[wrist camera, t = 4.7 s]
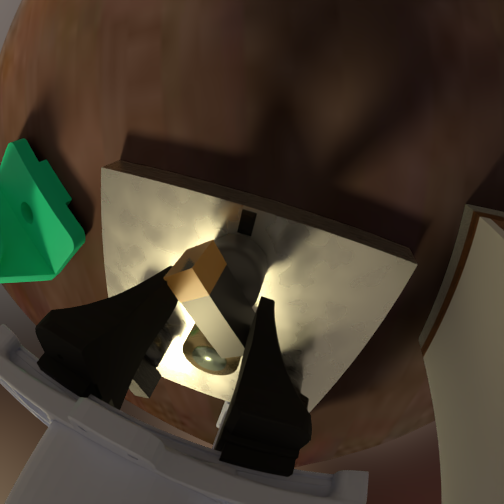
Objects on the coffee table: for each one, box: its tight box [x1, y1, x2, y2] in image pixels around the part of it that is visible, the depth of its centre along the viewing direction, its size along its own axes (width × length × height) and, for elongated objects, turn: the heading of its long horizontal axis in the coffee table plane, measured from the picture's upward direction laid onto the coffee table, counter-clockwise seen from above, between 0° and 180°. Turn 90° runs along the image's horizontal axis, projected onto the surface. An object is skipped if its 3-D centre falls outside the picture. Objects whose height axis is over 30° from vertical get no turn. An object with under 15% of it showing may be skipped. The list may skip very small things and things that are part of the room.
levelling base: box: [101, 160, 418, 412], centre depth 19 cm, size 20×20×7 cm
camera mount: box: [0, 138, 85, 283], centre depth 17 cm, size 12×8×10 cm, turn 36°
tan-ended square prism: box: [164, 234, 268, 358], centre depth 15 cm, size 5×4×5 cm
